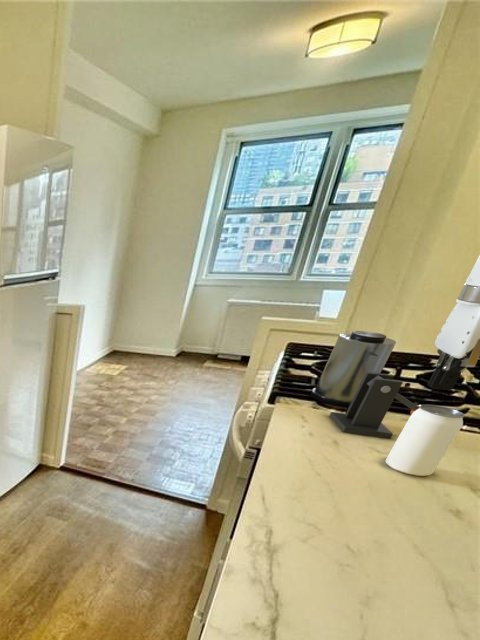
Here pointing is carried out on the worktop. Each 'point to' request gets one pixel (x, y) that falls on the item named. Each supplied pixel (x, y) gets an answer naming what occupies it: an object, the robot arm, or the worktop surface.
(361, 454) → the worktop surface
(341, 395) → the kettle
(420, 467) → the can
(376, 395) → the switch bracket
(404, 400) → the switch
